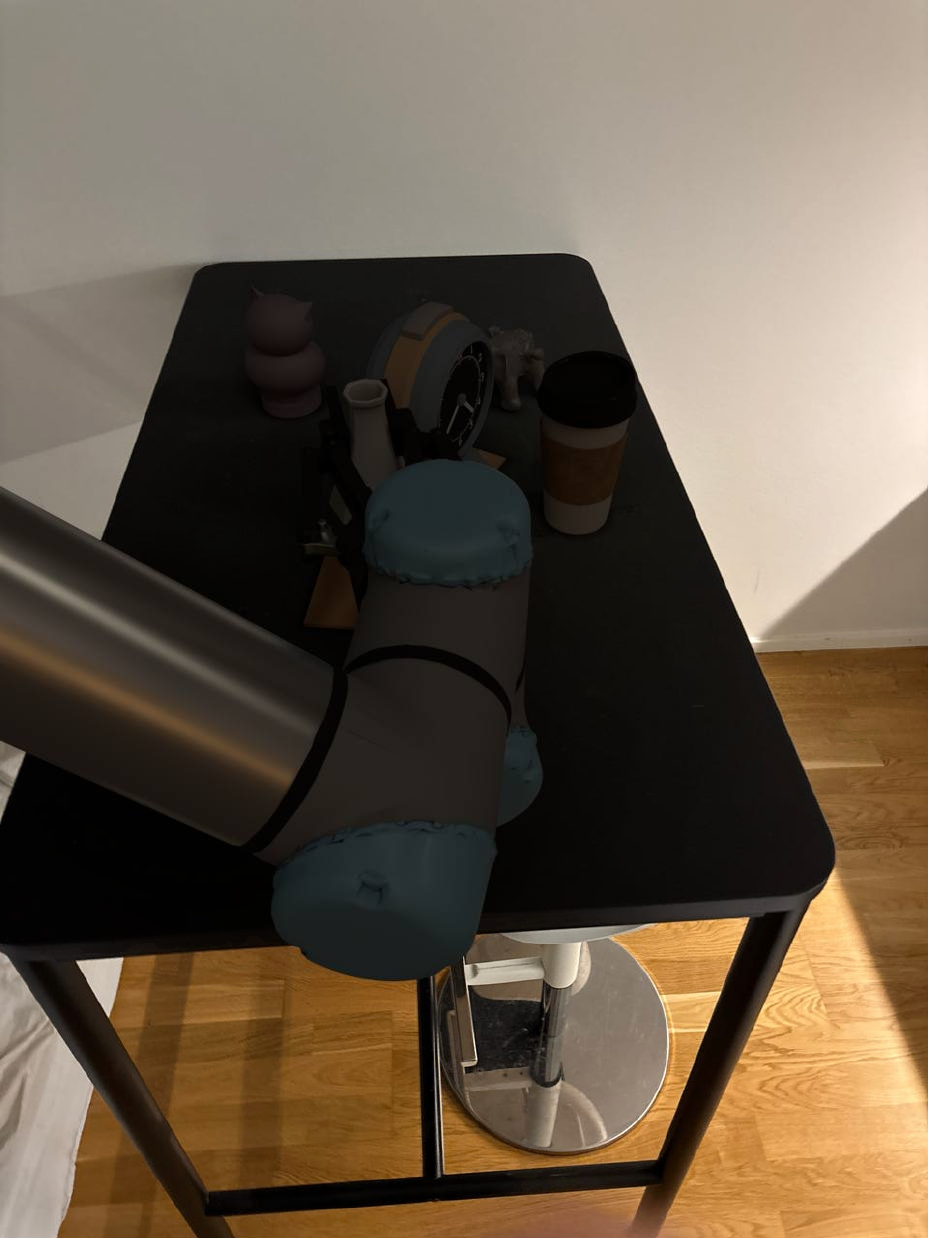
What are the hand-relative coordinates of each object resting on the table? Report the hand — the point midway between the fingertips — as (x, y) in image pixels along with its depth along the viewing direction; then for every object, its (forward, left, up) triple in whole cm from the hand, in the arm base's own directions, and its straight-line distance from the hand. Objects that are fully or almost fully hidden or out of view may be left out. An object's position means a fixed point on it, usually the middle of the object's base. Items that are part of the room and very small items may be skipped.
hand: (357, 398), depth 77 cm
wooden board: (+2, -5, -16) cm, 17 cm away
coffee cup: (+18, +7, -16) cm, 25 cm away
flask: (+2, -5, -6) cm, 8 cm away
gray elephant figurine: (+9, +25, -16) cm, 31 cm away
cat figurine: (-13, +23, -16) cm, 31 cm away
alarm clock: (+4, +11, -16) cm, 20 cm away
